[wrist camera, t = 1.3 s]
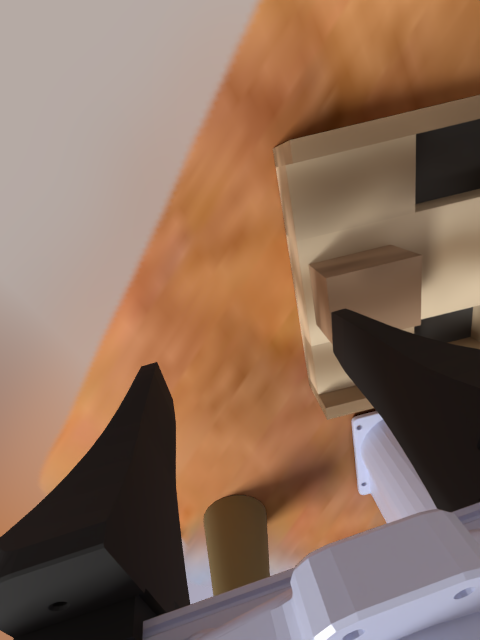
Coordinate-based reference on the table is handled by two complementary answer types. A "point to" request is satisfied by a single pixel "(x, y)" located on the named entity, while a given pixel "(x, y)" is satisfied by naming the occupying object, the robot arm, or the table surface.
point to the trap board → (387, 222)
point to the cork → (236, 542)
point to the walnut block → (369, 287)
